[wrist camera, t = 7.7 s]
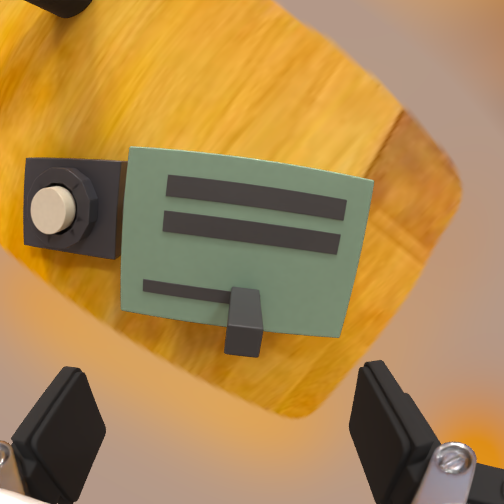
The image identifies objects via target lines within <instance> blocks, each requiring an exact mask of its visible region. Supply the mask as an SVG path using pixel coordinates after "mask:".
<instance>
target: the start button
mask: <svg viewBox="0 0 504 504" xmlns="http://www.w3.org/2000/svg"><path fill="white" fill-rule="evenodd" d="M75 214H76V204H75V200H74V198H73V196H72V194H71V193H70V191H68V190H67V189H66V188H64V187H61V186H54V187H48V188H43V189H41V190H39V191H38V192H37V193H36V195H35V196H34V198H33V200H32V203H31V217H32V220H33V223H34V224H35V226H36V227H37V229H38V230H40V231H41V232H43V233H45V234H54V233H56V232H59V231H61V230H64V229H66V228H68V227H69V226H70V225H71V224H72V222H73V220H74V218H75Z"/></svg>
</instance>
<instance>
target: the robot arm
mask: <svg viewBox="0 0 504 504" xmlns="http://www.w3.org/2000/svg"><path fill="white" fill-rule="evenodd" d="M349 431H350V434H351V437H352V439H353V441H354V445H355V447H356V450H357V453H358V456H359V458H360V461H361V464H362V466H363V469H364V472H365V474H366V477H367V480H368V483H369V486H370V489H371V491H372V494H373V497H374V500H375V502H376V504H504V469H500V468H496V467H492V466H487V465H483V464H479V463H476V455H475V453H474V451H473V450H472V449H471V448H470V447H469V446H467V445H466V444H463V443H460V442H448V443H444V444H442V445H441V443H440V441H439V440H438V439H437V437H436V435H435V434H434V432H433V430H432V429H431V427H430V426H429V424H428V423H427V421H426V420H425V418H424V416H423V415H422V413H421V412H420V410H419V409H418V407H417V406H416V404H415V403H414V401H413V400H412V398H411V397H410V395H409V394H407V393H404V392H403V391H402V389H401V388H400V386H399V385H398V383H397V382H396V380H395V378H394V377H393V375H392V374H391V372H390V371H389V369H388V368H387V366H386V365H385V363H384V362H383V361H382V360H378V361H371V362H366V363H365V364H364V367H360V368H359V372H358V379H357V384H356V390H355V395H354V401H353V406H352V412H351V416H350V422H349ZM105 433H106V427H105V424H104V422H103V420H102V417H101V415H100V412H99V410H98V407H97V404H96V402H95V399H94V397H93V394H92V391H91V389H90V386H89V383H88V380H87V377H86V375H85V373H83V372H82V371H81V369H80V368H75V367H67V366H66V367H63V368H62V370H61V371H60V372H59V374H58V375H57V376H56V377H55V379H54V380H53V381H52V383H51V384H50V385H49V387H48V388H47V389H46V390H45V392H44V393H43V394H42V396H41V397H40V398H39V400H38V401H37V403H36V404H35V405H34V407H33V408H32V409H31V411H30V412H29V414H28V415H27V416H26V418H25V419H24V420H23V422H22V423H21V425H20V426H19V428H18V429H17V430H16V432H15V434H14V435H13V436H12V438H11V439H12V441H13V443H12V445H10V444H9V443H7V442H5V441H0V504H57V503H58V504H73V502H76V501H77V500H78V499H79V496H80V494H81V491H82V489H83V486H84V484H85V481H86V479H87V476H88V474H89V472H90V469H91V467H92V464H93V462H94V460H95V457H96V455H97V453H98V450H99V448H100V446H101V443H102V441H103V439H104V436H105Z"/></svg>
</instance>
